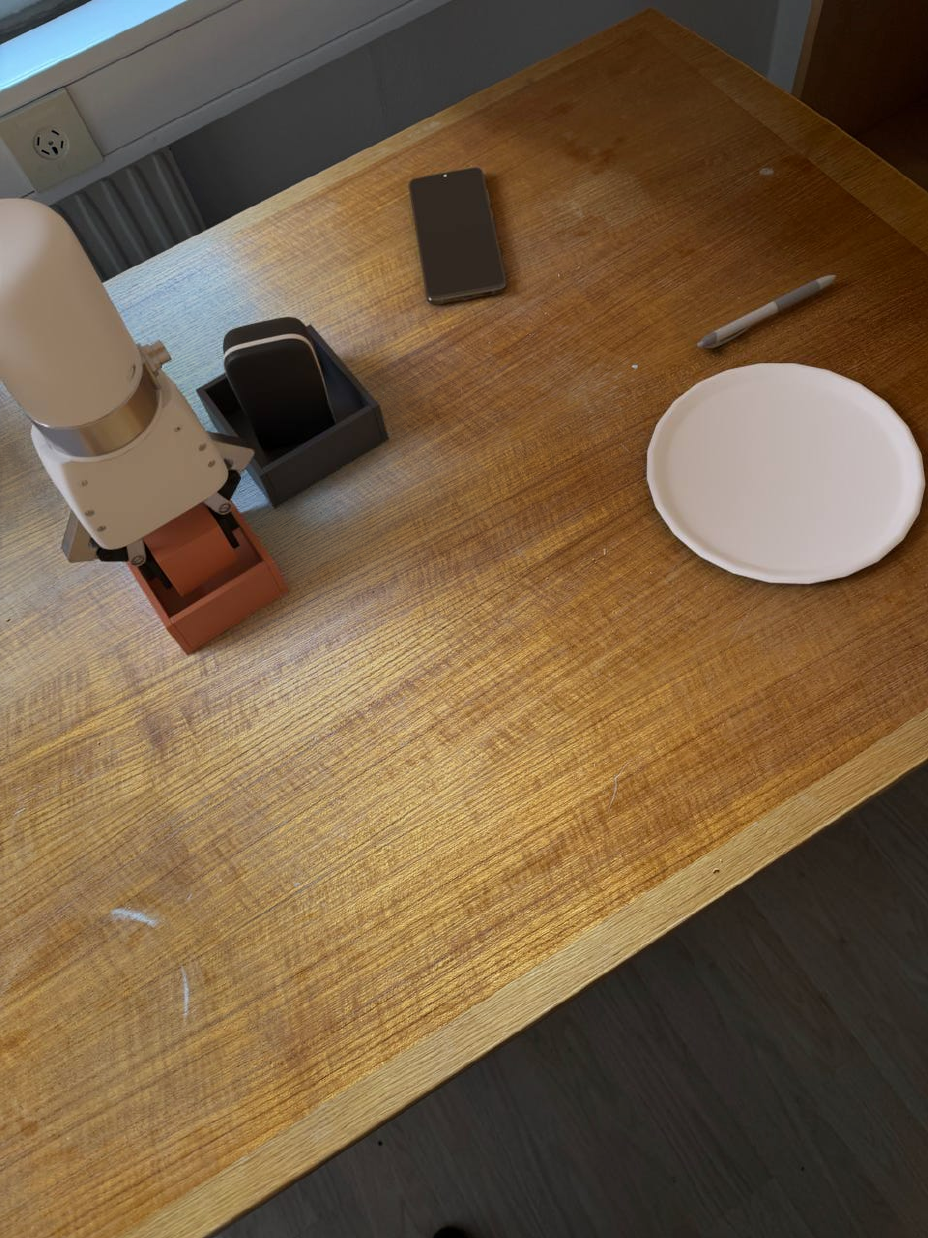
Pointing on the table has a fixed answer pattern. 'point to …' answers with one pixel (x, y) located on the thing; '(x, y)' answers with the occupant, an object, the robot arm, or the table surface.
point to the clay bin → (217, 593)
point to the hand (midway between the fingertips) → (194, 553)
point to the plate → (785, 473)
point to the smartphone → (456, 236)
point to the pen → (764, 312)
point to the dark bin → (311, 460)
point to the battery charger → (278, 381)
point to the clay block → (191, 549)
